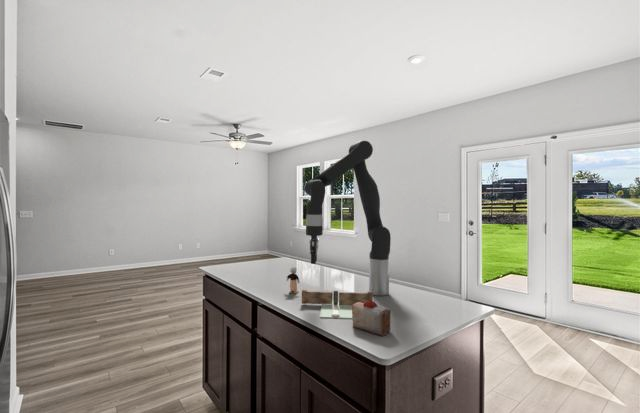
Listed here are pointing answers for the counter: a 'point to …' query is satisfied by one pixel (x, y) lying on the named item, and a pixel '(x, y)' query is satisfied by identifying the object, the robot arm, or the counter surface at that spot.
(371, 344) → the counter surface
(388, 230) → the robot arm
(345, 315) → the card
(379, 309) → the food item
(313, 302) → the hinged fence panel
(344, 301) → the fixed fence section
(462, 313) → the counter surface
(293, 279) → the grandmother figurine
